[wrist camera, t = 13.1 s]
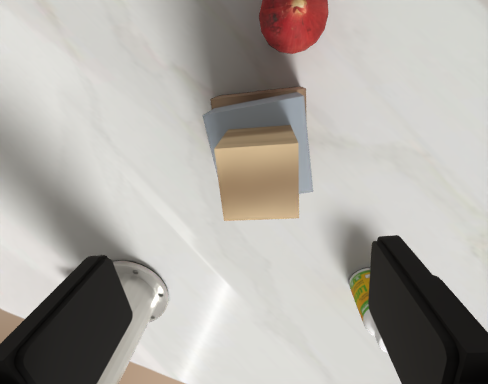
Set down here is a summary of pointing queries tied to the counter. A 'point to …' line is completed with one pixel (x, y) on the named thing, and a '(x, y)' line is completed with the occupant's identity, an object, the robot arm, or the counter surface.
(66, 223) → the counter surface
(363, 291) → the supplement bottle
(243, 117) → the grey square block
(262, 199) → the oak block
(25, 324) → the robot arm
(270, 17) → the onion
